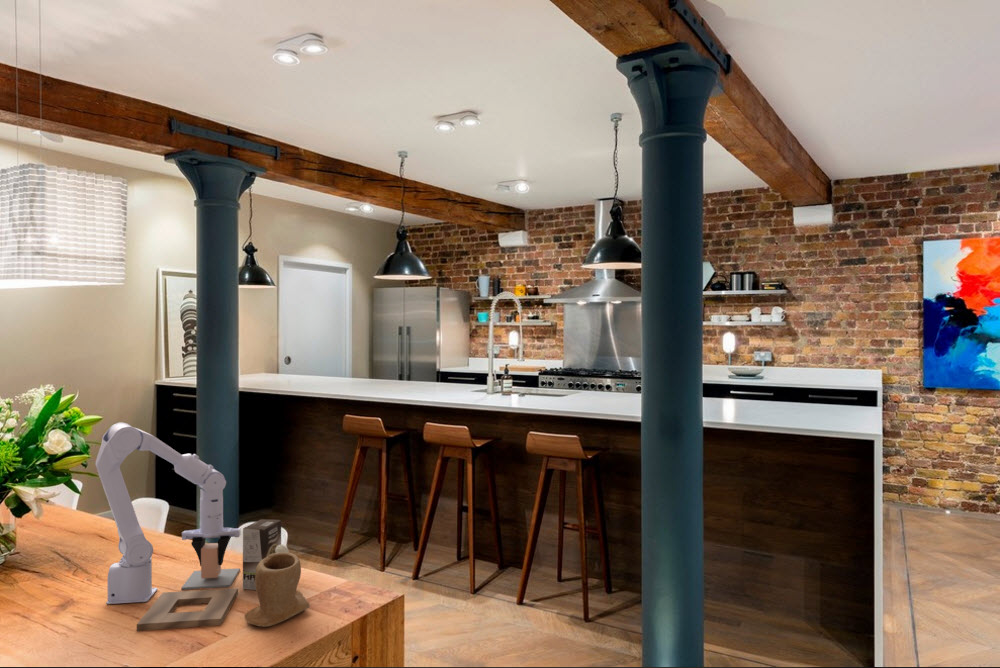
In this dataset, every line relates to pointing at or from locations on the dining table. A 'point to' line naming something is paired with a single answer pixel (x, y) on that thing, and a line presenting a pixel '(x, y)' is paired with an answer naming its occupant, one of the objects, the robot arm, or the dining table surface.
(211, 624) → the walnut pocket board
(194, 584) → the slate mat
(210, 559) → the terracotta block
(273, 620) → the stone cup
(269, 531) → the coffee box
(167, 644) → the dining table surface
